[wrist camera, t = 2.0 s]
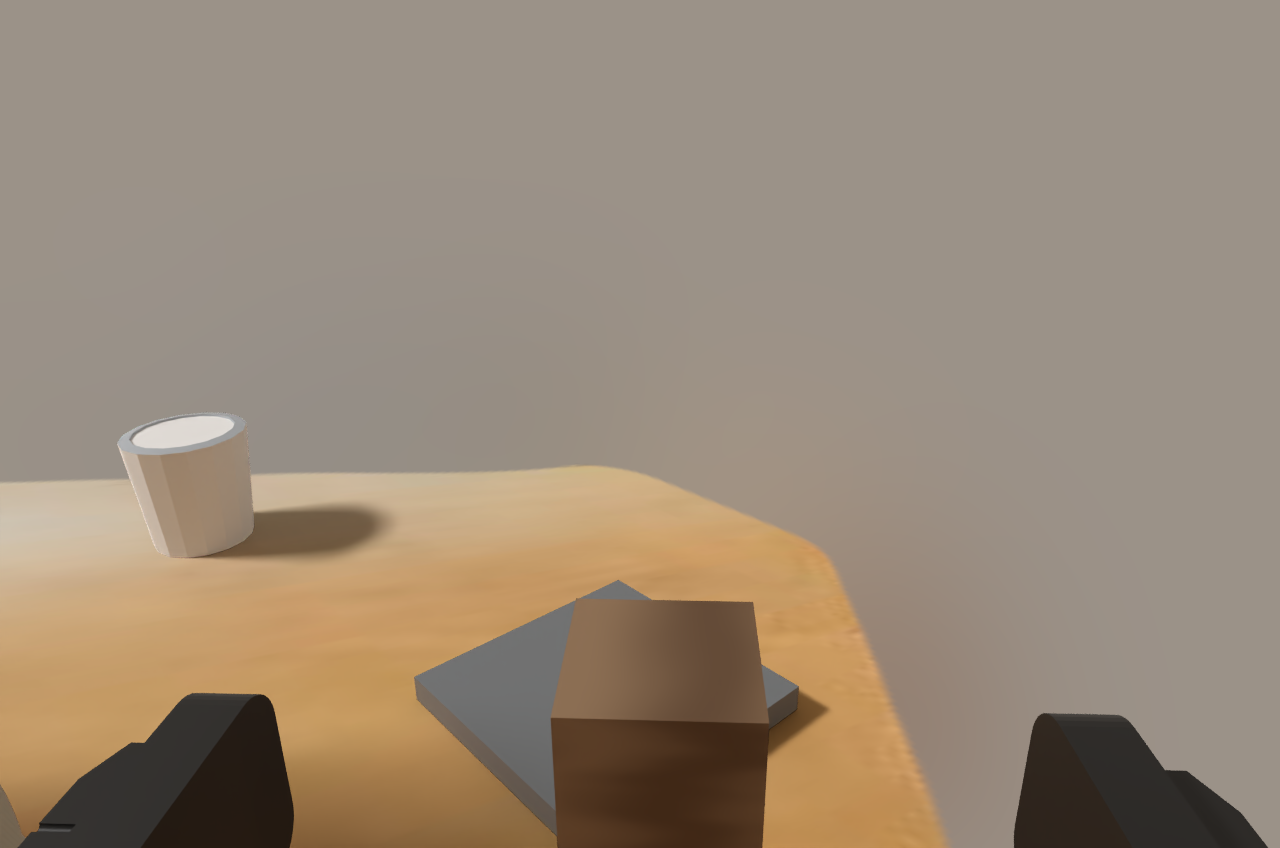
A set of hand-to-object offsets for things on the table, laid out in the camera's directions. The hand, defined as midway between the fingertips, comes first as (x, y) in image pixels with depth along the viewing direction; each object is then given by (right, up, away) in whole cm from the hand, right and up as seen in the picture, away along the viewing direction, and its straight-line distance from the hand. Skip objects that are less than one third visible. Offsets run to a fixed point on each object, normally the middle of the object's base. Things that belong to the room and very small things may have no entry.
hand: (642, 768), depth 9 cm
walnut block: (+1, -13, +17) cm, 22 cm away
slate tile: (-2, -9, +29) cm, 31 cm away
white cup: (-27, -3, +44) cm, 52 cm away
